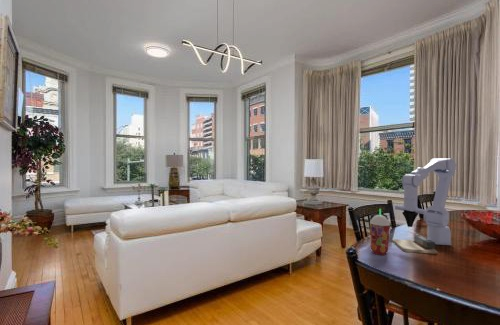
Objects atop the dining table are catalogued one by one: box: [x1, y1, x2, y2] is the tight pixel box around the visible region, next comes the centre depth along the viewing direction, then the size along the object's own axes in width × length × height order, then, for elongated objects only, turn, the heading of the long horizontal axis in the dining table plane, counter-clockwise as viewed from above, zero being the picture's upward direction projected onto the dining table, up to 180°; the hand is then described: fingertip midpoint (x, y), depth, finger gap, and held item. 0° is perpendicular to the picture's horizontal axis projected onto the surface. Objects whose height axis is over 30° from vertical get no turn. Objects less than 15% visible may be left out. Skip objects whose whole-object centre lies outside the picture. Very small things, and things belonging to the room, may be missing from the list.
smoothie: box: [369, 208, 391, 256], centre depth 121 cm, size 8×8×20 cm
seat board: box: [391, 238, 438, 255], centre depth 130 cm, size 14×16×1 cm
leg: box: [413, 233, 436, 250], centre depth 130 cm, size 12×4×3 cm, turn 176°
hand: (409, 226), depth 131 cm, fingers closed
